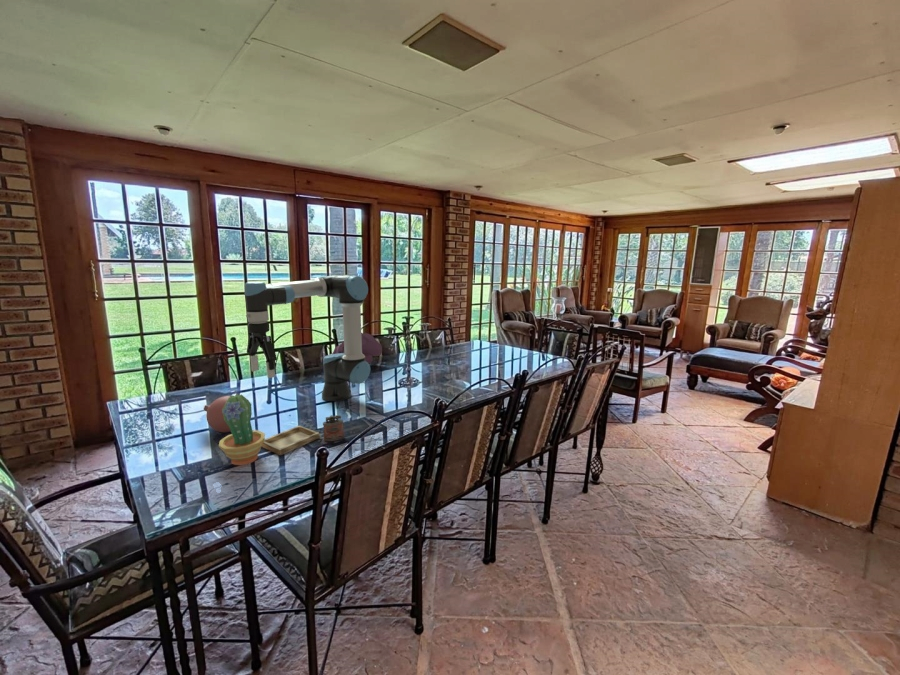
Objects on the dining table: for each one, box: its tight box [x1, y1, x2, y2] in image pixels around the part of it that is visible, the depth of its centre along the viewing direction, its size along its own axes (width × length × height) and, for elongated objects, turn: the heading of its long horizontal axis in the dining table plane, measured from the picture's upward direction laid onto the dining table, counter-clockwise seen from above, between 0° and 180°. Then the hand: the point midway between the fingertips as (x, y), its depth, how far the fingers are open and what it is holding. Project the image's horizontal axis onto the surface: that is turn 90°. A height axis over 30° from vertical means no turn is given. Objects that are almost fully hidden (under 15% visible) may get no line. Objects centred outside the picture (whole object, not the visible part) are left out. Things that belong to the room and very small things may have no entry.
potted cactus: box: [218, 393, 266, 466], centre depth 145 cm, size 15×15×25 cm
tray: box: [261, 425, 320, 456], centre depth 161 cm, size 18×13×2 cm
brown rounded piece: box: [203, 395, 231, 433], centre depth 171 cm, size 15×20×15 cm
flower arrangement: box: [329, 332, 383, 365], centre depth 258 cm, size 35×24×28 cm
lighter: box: [322, 414, 345, 442], centre depth 164 cm, size 8×3×10 cm, turn 114°
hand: (263, 374), depth 160 cm, fingers open, 13 cm apart
